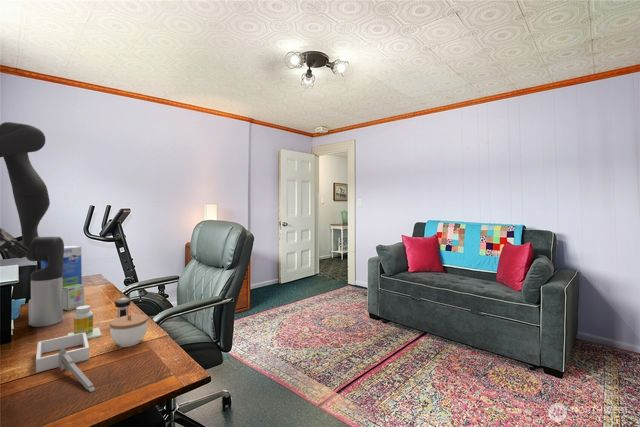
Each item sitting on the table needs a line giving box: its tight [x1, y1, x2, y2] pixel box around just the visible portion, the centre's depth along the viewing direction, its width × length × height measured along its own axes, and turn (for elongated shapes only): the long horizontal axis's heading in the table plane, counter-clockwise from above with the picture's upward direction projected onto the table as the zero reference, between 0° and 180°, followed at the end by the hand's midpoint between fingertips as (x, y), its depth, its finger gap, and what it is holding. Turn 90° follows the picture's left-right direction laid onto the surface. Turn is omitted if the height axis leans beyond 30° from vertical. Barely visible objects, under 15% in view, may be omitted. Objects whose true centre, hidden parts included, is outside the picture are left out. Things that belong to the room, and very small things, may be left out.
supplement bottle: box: [73, 304, 94, 336], centre depth 108 cm, size 5×5×10 cm
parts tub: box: [35, 332, 90, 373], centre depth 94 cm, size 12×15×4 cm
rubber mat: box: [66, 326, 102, 340], centre depth 108 cm, size 9×9×1 cm
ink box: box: [62, 276, 86, 312], centre depth 137 cm, size 7×4×13 cm, turn 161°
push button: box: [114, 297, 132, 318], centre depth 118 cm, size 7×5×10 cm
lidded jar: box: [109, 313, 149, 348], centre depth 103 cm, size 11×11×9 cm
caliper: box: [57, 347, 96, 393], centre depth 81 cm, size 20×1×6 cm, turn 57°
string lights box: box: [40, 245, 83, 284], centre depth 145 cm, size 13×8×26 cm, turn 153°
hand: (25, 254), depth 93 cm, fingers open, 8 cm apart
